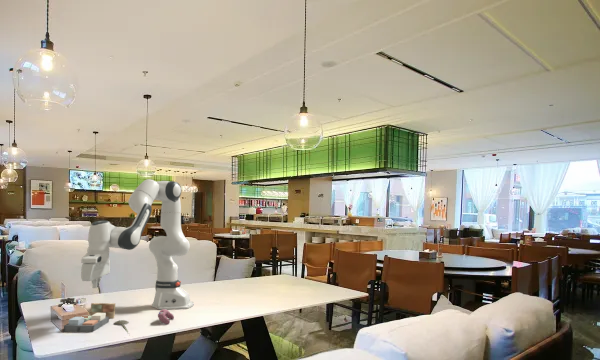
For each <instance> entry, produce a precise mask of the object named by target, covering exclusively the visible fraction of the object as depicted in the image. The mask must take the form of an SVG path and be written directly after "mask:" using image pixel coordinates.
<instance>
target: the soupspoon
mask: <svg viewBox="0 0 600 360" xmlns="http://www.w3.org/2000/svg"><path fill="white" fill-rule="evenodd" d="M127 324H129V321H128V320H125V319H121V320H120V319H119V320H117V321H114V322H113V325H117V326H121V327H123V329H124V330H125V332H126V333H127V335H128V334H129V335H130V333H129V331H128V329H127V327H126V326H125V325H127Z"/></svg>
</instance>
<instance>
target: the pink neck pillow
mask: <svg viewBox="0 0 600 360" xmlns="http://www.w3.org/2000/svg"><path fill="white" fill-rule="evenodd" d="M157 318H158V319H159V321H160V322H161V323H162V324H164V325H169V324H170V320H174V318H175V316H174V314H173V313H171V312H170V310H169V309H160V311H158V313H157Z"/></svg>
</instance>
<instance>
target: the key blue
mask: <svg viewBox="0 0 600 360" xmlns="http://www.w3.org/2000/svg"><path fill="white" fill-rule="evenodd" d="M83 322H84V317H82V316H74V317H71V318H68V323H67V324H68V325H79V324H81V323H83Z"/></svg>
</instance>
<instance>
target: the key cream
mask: <svg viewBox="0 0 600 360" xmlns="http://www.w3.org/2000/svg"><path fill="white" fill-rule="evenodd" d="M105 317H106V313H96V314H94V315H92V316H91V320H98V321H101V320H103V319H104V318H105Z"/></svg>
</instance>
